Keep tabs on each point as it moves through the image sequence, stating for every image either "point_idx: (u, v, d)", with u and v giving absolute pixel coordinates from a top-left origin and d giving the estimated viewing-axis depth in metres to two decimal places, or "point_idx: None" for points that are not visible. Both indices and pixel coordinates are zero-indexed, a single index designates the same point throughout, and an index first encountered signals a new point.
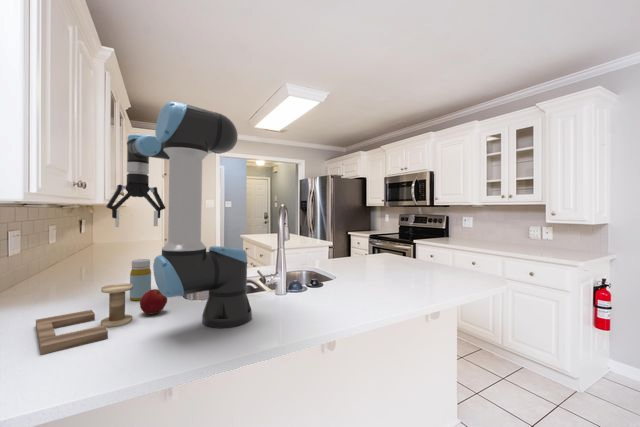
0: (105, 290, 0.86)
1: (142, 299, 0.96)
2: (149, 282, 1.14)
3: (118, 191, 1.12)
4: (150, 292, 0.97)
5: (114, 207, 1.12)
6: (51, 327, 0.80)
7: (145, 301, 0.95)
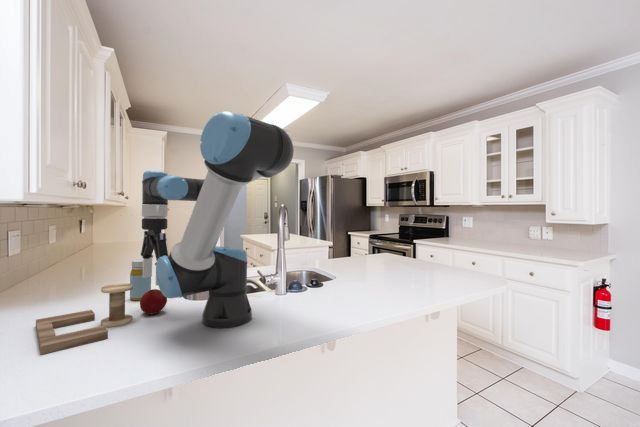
0: (105, 290, 0.86)
1: (142, 299, 0.96)
2: (149, 282, 1.14)
3: (144, 238, 1.02)
4: (150, 292, 0.97)
5: (143, 255, 1.03)
6: (51, 327, 0.80)
7: (145, 301, 0.95)
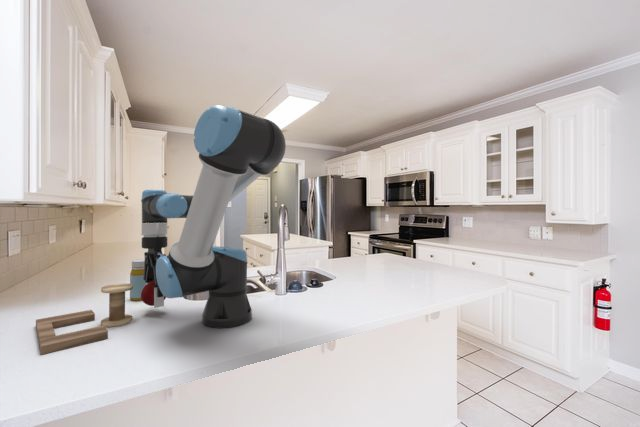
0: (105, 290, 0.86)
1: (143, 290, 0.95)
2: None
3: (145, 260, 1.01)
4: (151, 283, 0.96)
5: None
6: (51, 327, 0.80)
7: (146, 292, 0.94)
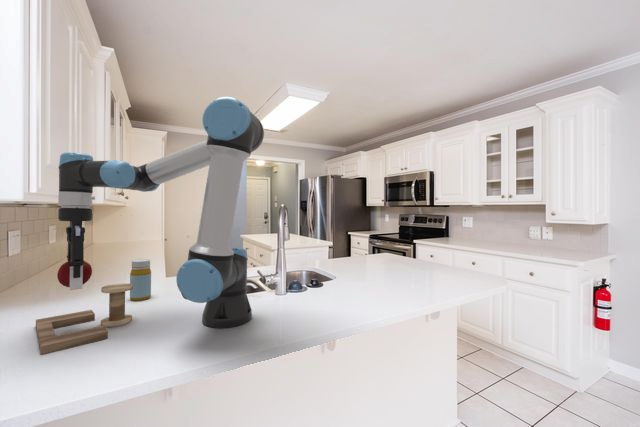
0: (105, 290, 0.86)
1: (59, 269, 0.82)
2: (149, 282, 1.14)
3: None
4: (69, 261, 0.83)
5: None
6: (51, 327, 0.80)
7: (61, 271, 0.81)
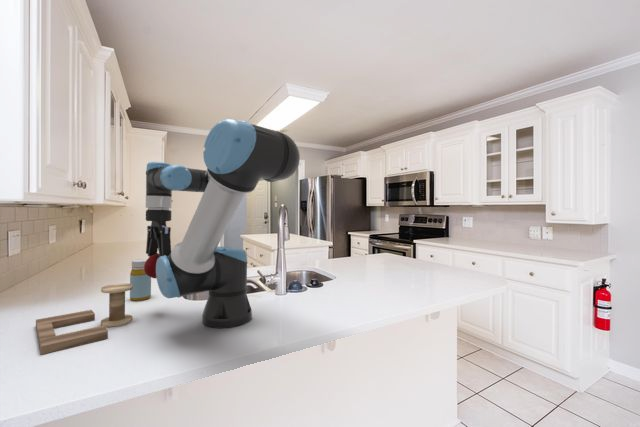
0: (105, 290, 0.86)
1: (146, 263, 0.95)
2: (149, 282, 1.14)
3: (147, 233, 1.01)
4: (154, 256, 0.96)
5: (148, 253, 1.00)
6: (51, 327, 0.80)
7: (149, 264, 0.94)
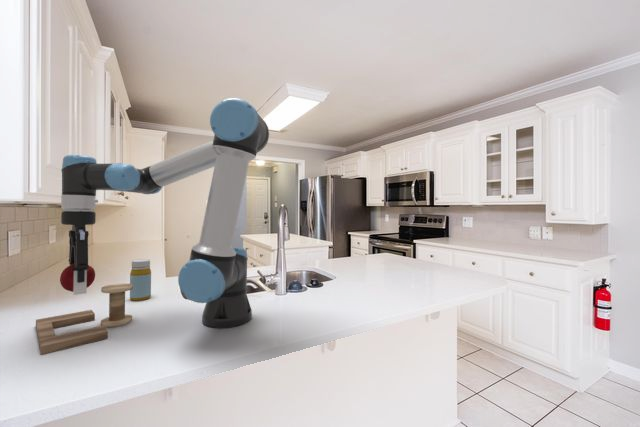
0: (105, 290, 0.86)
1: (62, 273, 0.80)
2: (149, 282, 1.14)
3: None
4: (72, 265, 0.81)
5: None
6: (51, 327, 0.80)
7: (64, 275, 0.80)
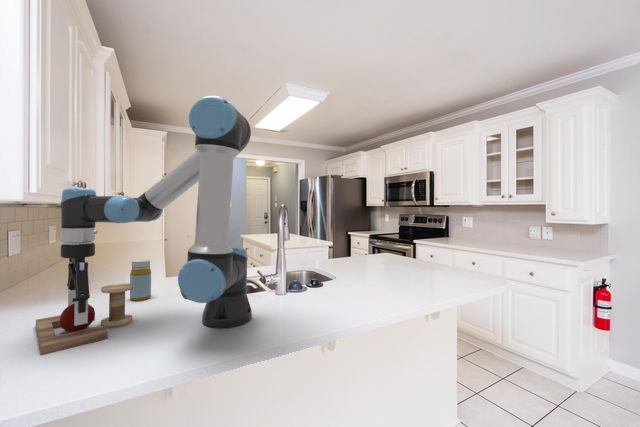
0: (105, 290, 0.86)
1: (61, 314, 0.80)
2: (149, 282, 1.14)
3: None
4: (72, 306, 0.81)
5: None
6: (51, 327, 0.80)
7: (64, 317, 0.80)
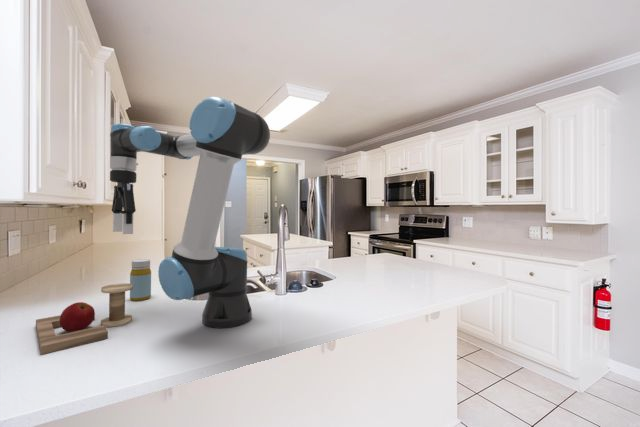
0: (105, 290, 0.86)
1: (61, 315, 0.80)
2: (149, 282, 1.14)
3: (114, 193, 1.04)
4: (72, 306, 0.81)
5: None
6: (51, 327, 0.80)
7: (64, 317, 0.80)
